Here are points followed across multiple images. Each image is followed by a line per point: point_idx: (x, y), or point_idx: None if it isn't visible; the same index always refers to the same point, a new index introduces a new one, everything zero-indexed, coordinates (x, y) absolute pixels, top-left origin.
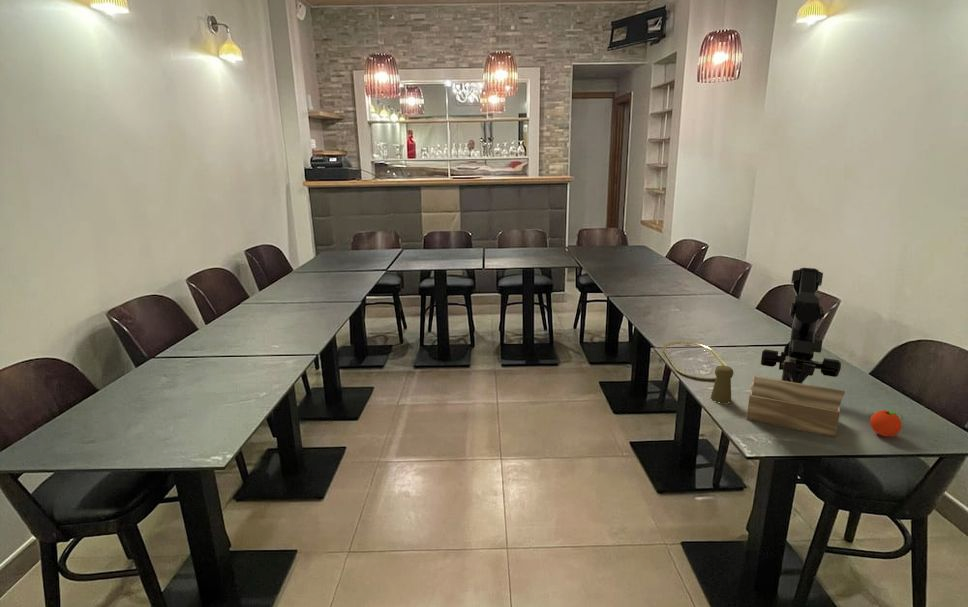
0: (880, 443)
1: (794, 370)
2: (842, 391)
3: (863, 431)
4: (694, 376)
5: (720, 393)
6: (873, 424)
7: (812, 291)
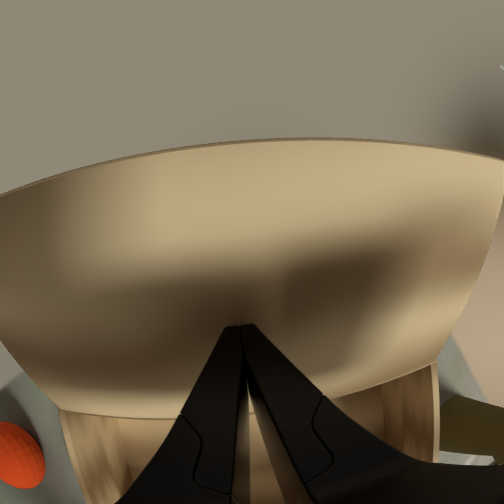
0: (28, 398)
1: (347, 487)
2: None
3: (63, 454)
4: (500, 464)
5: (472, 403)
6: (28, 445)
7: None
